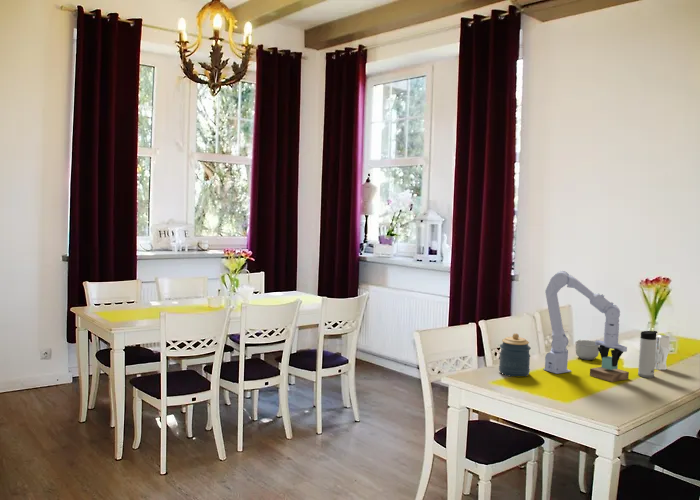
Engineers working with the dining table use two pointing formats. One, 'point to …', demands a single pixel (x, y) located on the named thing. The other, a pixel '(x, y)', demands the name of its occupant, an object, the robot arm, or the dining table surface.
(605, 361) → the teal cube
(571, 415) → the dining table surface
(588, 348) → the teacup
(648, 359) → the travel mug
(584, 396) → the dining table surface
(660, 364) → the beer glass
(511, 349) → the canister
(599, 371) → the walnut base
